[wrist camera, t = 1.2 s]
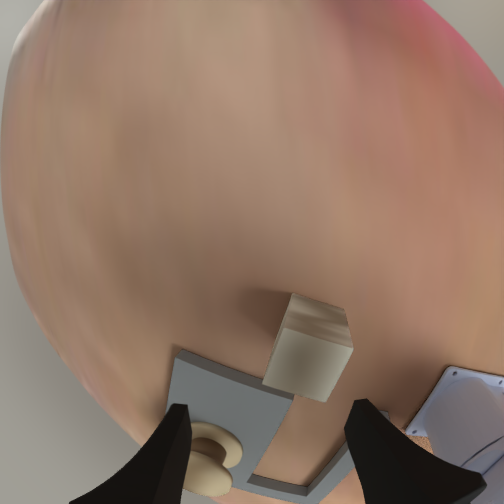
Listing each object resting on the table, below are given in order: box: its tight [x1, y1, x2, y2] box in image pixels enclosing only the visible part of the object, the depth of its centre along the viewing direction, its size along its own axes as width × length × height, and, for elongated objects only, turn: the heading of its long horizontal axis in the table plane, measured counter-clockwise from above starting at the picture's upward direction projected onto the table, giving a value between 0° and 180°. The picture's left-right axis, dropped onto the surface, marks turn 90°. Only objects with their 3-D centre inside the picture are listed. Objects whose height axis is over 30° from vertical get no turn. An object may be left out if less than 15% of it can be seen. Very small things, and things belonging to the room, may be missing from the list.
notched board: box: [165, 349, 390, 504], centre depth 23 cm, size 19×16×2 cm
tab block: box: [262, 293, 354, 402], centre depth 18 cm, size 4×4×6 cm
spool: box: [183, 422, 243, 496], centre depth 21 cm, size 6×6×5 cm
